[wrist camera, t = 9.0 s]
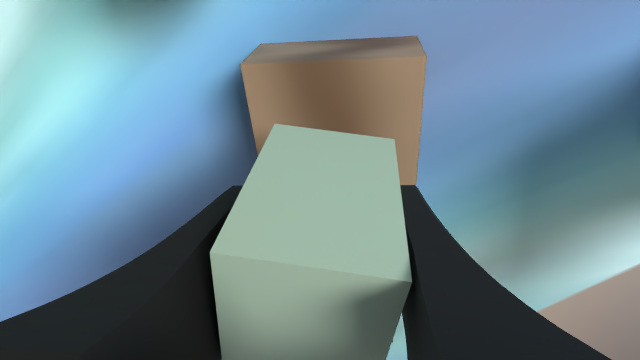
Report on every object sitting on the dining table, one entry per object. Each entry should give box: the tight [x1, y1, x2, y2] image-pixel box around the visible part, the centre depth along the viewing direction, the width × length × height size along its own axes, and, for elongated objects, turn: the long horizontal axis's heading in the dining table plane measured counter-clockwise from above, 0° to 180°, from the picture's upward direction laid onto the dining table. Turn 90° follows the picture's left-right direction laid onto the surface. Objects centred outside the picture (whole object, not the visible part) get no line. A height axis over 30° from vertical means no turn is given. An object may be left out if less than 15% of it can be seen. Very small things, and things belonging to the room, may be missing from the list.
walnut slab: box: [240, 36, 427, 186], centre depth 17 cm, size 7×7×4 cm
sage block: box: [210, 124, 412, 360], centre depth 11 cm, size 4×4×6 cm
